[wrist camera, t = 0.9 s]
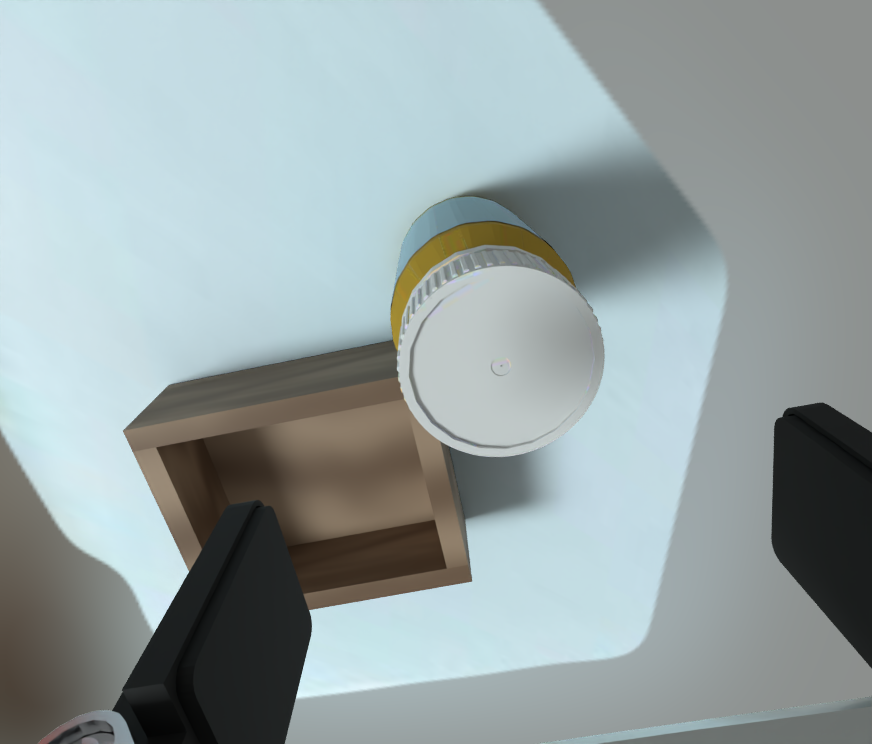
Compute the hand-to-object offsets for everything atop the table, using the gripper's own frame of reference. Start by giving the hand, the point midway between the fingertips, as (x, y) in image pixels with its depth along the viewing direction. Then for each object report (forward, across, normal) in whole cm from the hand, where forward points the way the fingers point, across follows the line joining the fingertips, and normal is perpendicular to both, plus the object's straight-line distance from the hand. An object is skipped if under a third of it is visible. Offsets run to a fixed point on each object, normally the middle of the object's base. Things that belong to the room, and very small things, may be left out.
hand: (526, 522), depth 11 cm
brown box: (+22, +10, +9) cm, 26 cm away
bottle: (+22, 0, -1) cm, 22 cm away
